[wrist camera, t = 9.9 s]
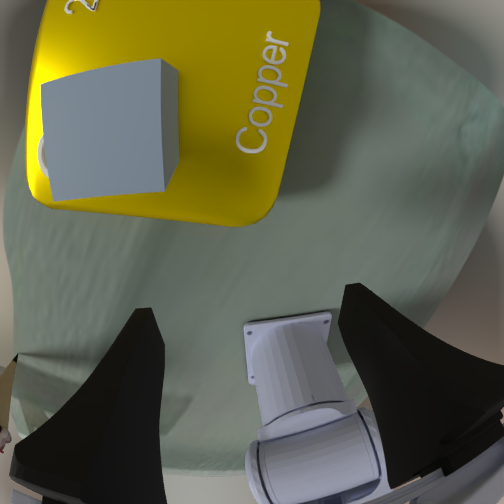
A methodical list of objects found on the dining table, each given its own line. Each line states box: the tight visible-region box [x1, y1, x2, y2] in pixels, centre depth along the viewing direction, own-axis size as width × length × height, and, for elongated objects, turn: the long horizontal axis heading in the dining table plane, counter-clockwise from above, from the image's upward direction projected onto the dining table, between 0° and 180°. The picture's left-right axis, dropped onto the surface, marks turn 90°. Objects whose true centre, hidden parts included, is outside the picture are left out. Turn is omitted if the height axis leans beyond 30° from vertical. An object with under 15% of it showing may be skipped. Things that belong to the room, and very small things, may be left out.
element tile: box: [25, 0, 320, 227], centre depth 13 cm, size 15×15×5 cm
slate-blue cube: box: [40, 58, 179, 202], centre depth 10 cm, size 4×4×4 cm
